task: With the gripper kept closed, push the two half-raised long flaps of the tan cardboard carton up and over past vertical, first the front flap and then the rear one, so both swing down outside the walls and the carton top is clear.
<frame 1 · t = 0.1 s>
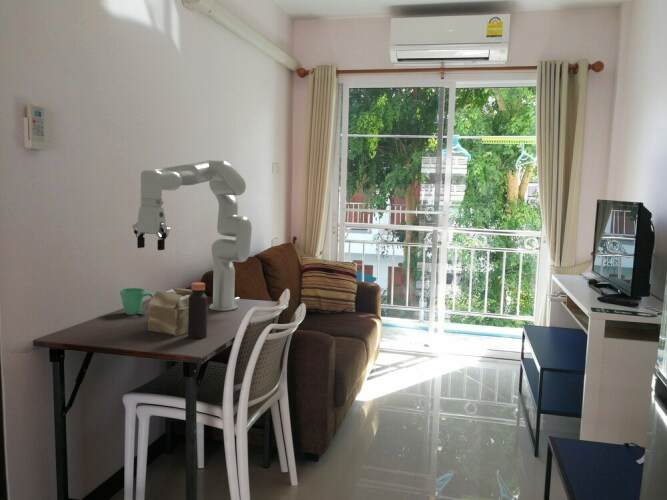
hand: (150, 248, 210), 31 cm above the table, tool pointing down, fingers open, 9 cm apart
carton: (176, 328, 215), on the table
ink box: (178, 318, 233), on the table
mug: (137, 314, 236), on the table
front flap: (165, 299, 208), point 13 cm above the table, hinge at 45.0°
bottle: (197, 337, 206), on the table
rear flap: (188, 294, 219), point 13 cm above the table, hinge at 45.0°, touching carton
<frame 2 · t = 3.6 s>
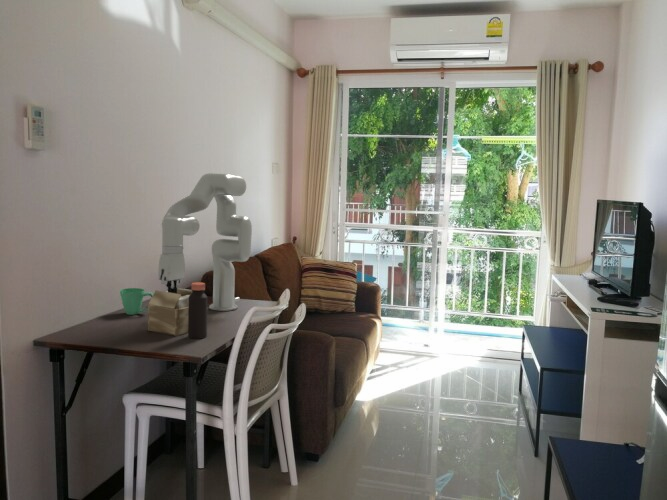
hand: (172, 297, 211), 13 cm above the table, tool pointing down, fingers closed
front flap: (164, 299, 208), point 13 cm above the table, hinge at 51.1°, touching gripper
everything else where it was.
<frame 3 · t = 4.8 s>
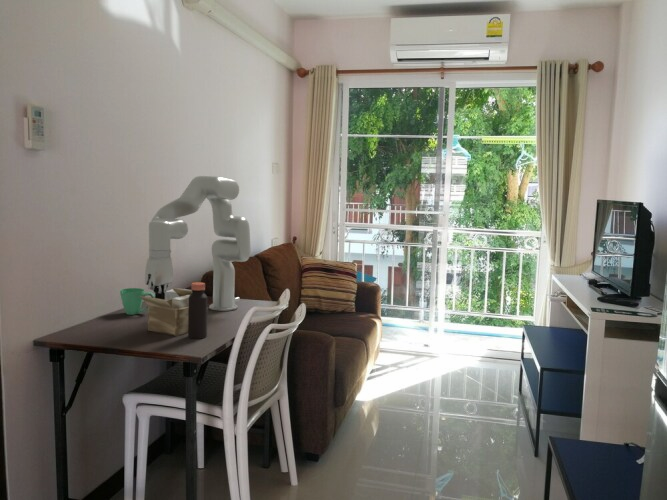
hand: (160, 303, 206), 12 cm above the table, tool pointing down, fingers closed
front flap: (156, 302, 204), point 12 cm above the table, hinge at 137.3°, touching gripper
everything else where it was.
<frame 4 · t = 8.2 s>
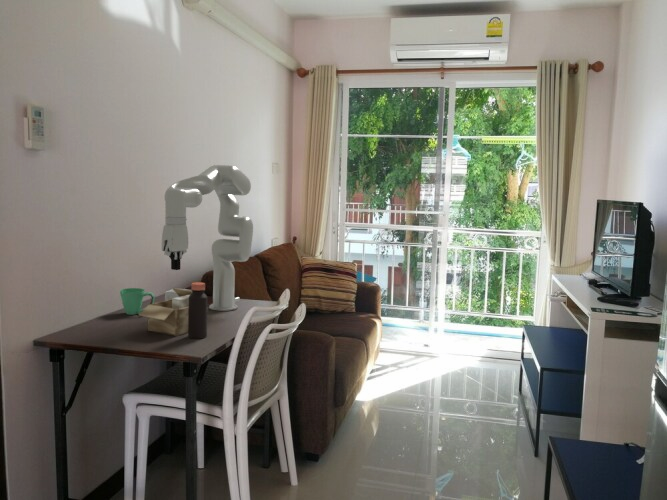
hand: (175, 269, 212), 23 cm above the table, tool pointing down, fingers closed
front flap: (156, 312, 204), point 9 cm above the table, hinge at 210.0°
everything else where it was.
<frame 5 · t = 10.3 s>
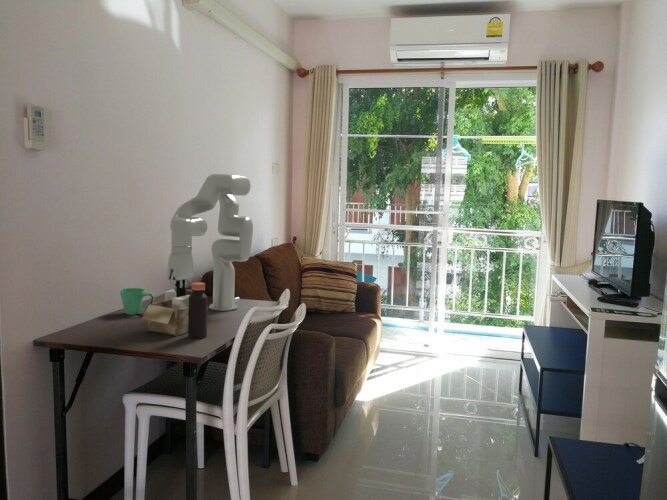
hand: (180, 297, 216), 12 cm above the table, tool pointing down, fingers closed
front flap: (158, 314, 205), point 8 cm above the table, hinge at 233.9°
rear flap: (188, 294, 219), point 13 cm above the table, hinge at 47.0°, touching gripper
everything else where it was.
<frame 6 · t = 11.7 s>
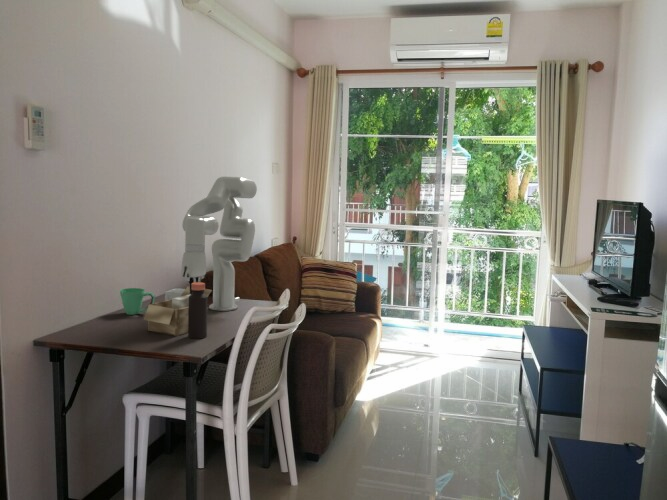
hand: (194, 294, 222), 12 cm above the table, tool pointing down, fingers closed
front flap: (158, 314, 206), point 8 cm above the table, hinge at 241.7°
rear flap: (195, 293, 223), point 12 cm above the table, hinge at 138.9°, touching gripper
everything else where it was.
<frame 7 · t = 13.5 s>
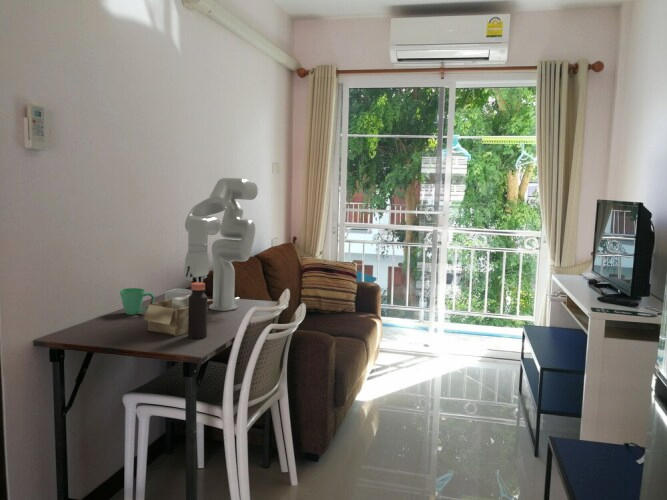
hand: (197, 293, 224), 12 cm above the table, tool pointing down, fingers closed
front flap: (159, 314, 206), point 8 cm above the table, hinge at 244.5°, touching carton
rear flap: (196, 299, 224), point 10 cm above the table, hinge at 183.7°
everything else where it was.
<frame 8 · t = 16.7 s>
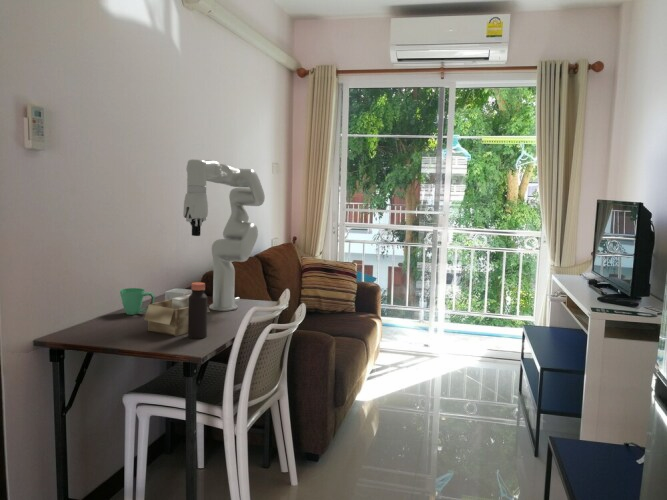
hand: (196, 235, 226), 35 cm above the table, tool pointing down, fingers closed
rear flap: (194, 304, 223), point 8 cm above the table, hinge at 231.2°
everything else where it was.
at the end: front flap at +244° (first picture: +45°); rear flap at +232° (first picture: +45°) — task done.
